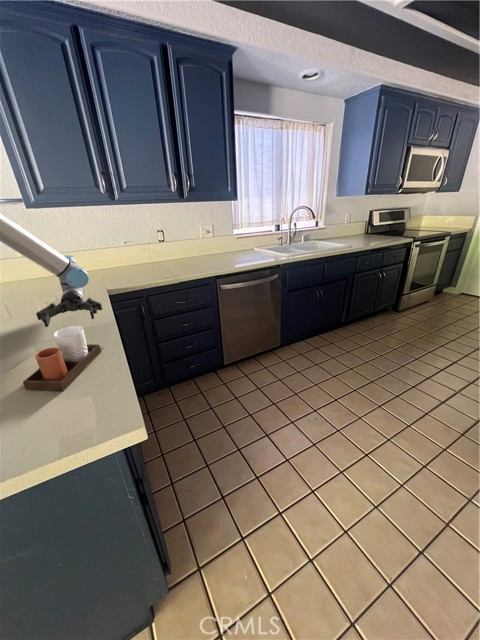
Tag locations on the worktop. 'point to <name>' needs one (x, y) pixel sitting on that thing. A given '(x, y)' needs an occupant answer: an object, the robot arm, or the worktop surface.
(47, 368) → the terracotta cup
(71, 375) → the tray
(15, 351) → the worktop surface
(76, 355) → the white cup
